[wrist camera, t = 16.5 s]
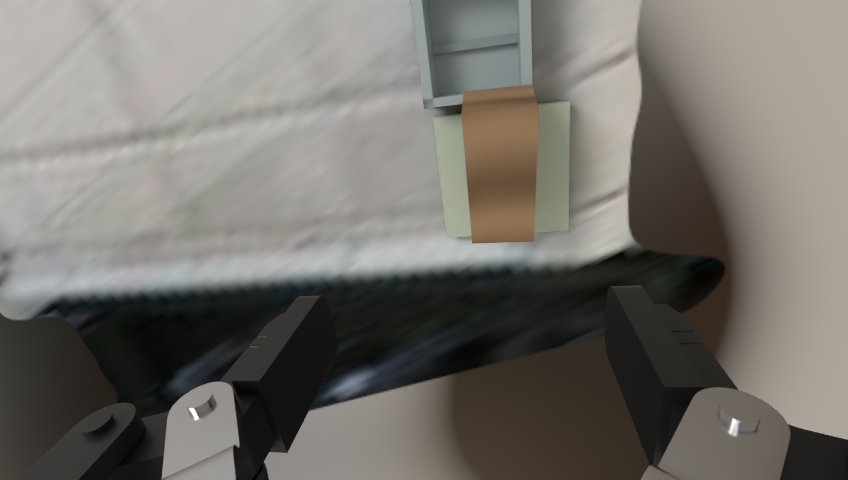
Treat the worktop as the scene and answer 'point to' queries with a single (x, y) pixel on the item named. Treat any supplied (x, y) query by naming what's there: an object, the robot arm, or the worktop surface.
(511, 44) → the pale blue tray
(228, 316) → the worktop surface
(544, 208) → the plate
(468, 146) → the walnut bar
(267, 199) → the worktop surface
